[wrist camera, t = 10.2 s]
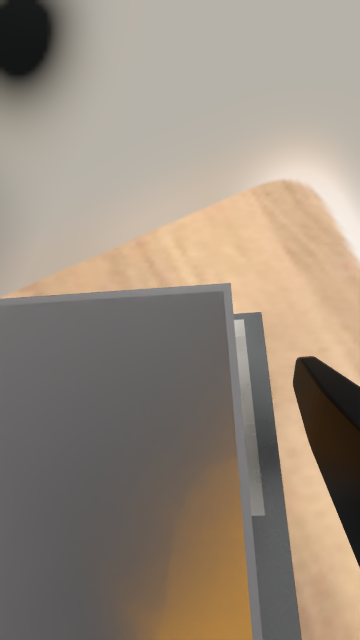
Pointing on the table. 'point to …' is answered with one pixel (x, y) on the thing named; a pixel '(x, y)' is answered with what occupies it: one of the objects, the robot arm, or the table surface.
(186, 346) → the capped orange pillar
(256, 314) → the grey socket base plate
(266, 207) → the table surface
